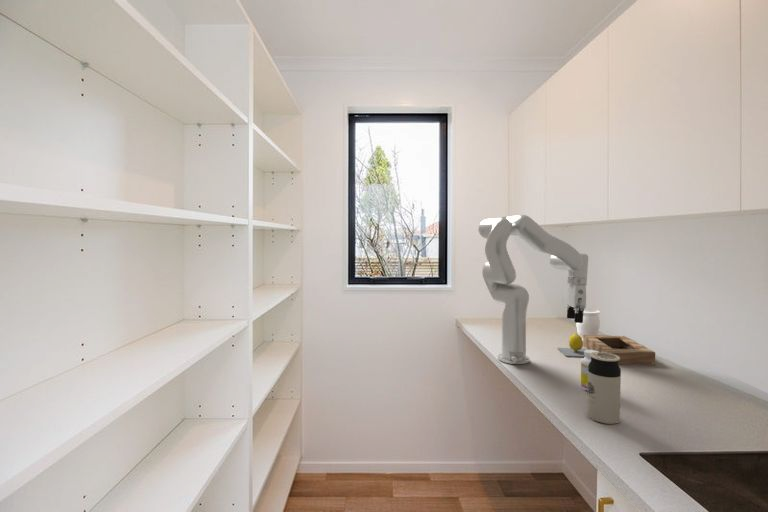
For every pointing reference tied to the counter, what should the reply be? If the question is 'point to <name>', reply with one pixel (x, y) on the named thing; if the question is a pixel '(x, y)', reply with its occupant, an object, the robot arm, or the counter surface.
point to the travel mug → (604, 388)
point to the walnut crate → (628, 355)
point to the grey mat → (572, 352)
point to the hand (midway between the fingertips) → (574, 320)
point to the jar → (589, 323)
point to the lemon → (575, 342)
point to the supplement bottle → (585, 368)
